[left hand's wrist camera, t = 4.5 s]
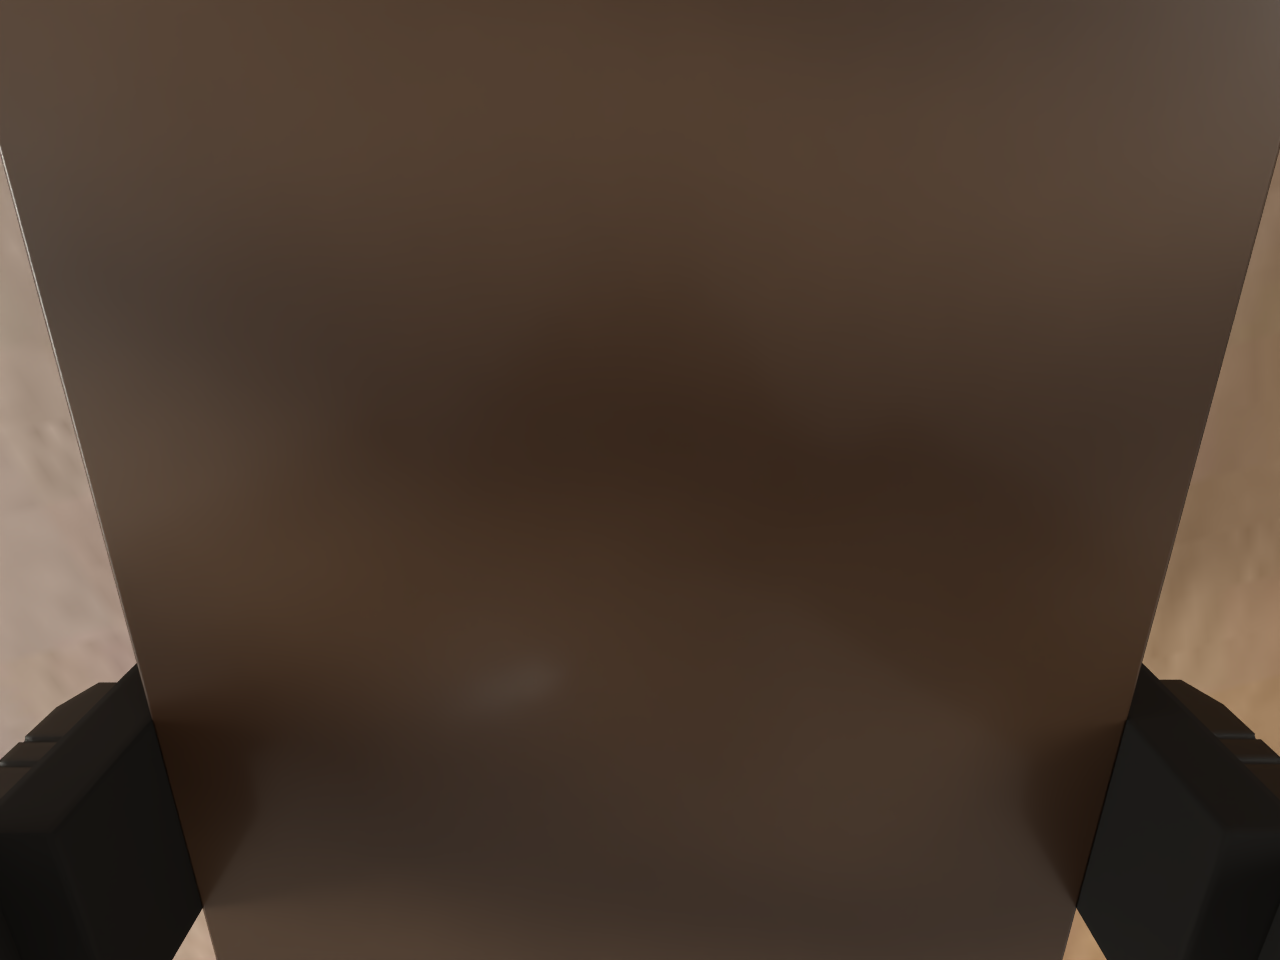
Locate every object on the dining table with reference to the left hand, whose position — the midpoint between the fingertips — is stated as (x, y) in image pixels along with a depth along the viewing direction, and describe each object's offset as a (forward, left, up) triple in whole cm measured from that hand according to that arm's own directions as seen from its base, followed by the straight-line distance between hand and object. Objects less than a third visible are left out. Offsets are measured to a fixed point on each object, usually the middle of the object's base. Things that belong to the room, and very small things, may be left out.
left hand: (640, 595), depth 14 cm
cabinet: (+5, +1, -5) cm, 7 cm away
